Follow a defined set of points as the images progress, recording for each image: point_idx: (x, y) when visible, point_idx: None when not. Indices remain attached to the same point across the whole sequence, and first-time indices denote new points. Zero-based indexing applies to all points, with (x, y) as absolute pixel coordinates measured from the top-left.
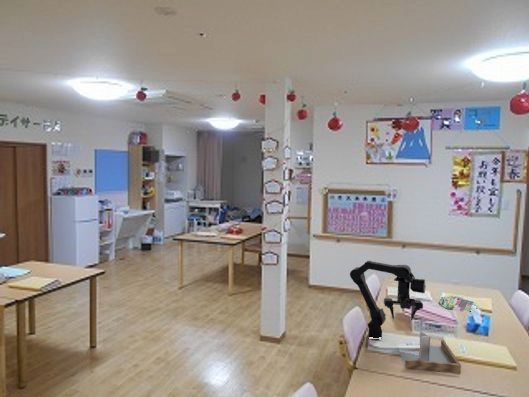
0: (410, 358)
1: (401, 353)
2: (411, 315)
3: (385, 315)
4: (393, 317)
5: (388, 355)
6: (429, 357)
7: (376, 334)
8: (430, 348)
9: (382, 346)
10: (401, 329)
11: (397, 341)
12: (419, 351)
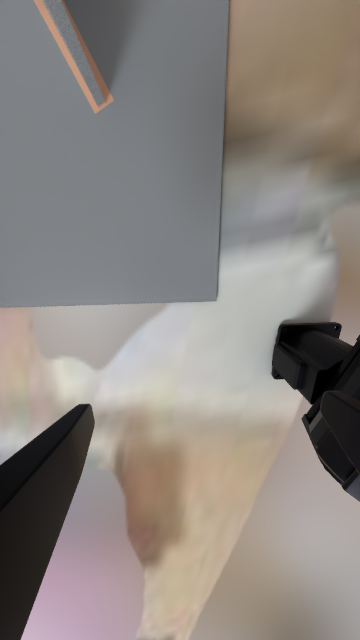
0: (166, 66)
1: (212, 151)
2: (59, 484)
3: (355, 475)
4: (349, 403)
5: (294, 120)
6: (35, 118)
7: (322, 338)
8: (30, 268)
9: (292, 253)
10: (158, 453)
11: (199, 332)
12: (88, 66)
